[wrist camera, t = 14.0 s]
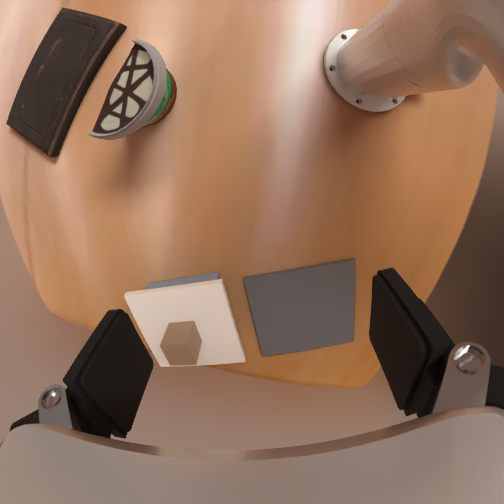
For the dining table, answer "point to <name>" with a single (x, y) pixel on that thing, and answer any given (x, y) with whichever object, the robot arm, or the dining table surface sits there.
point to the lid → (188, 324)
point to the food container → (136, 94)
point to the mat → (303, 307)
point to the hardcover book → (61, 77)
